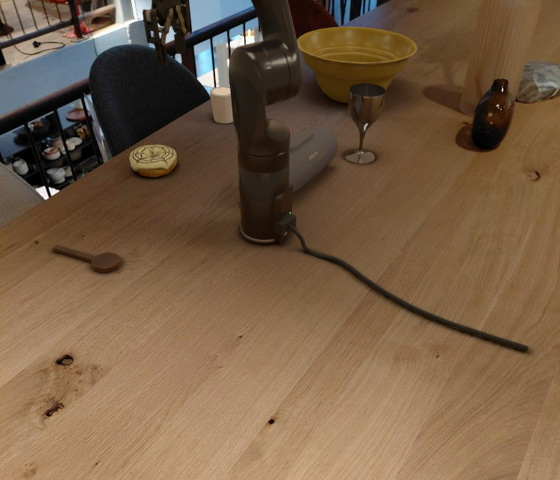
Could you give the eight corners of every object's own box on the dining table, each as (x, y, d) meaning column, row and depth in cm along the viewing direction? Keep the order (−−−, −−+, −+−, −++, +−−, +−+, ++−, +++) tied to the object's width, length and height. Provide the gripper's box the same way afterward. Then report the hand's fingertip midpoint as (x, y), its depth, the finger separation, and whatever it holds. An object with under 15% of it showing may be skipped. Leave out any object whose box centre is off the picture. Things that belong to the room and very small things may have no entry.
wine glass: (338, 160, 133) (344, 93, 122) (348, 146, 138) (355, 81, 127) (371, 166, 131) (380, 99, 120) (380, 152, 136) (389, 86, 125)
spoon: (126, 260, 104) (125, 256, 103) (110, 275, 101) (108, 271, 100) (63, 243, 108) (62, 238, 107) (46, 257, 105) (44, 252, 104)
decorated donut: (128, 179, 125) (125, 163, 123) (134, 157, 133) (131, 141, 130) (176, 178, 126) (173, 162, 123) (179, 156, 133) (177, 141, 131)
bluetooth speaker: (248, 153, 113) (249, 199, 120) (288, 165, 110) (287, 211, 117) (304, 114, 126) (302, 158, 134) (341, 124, 123) (338, 168, 130)
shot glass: (234, 125, 146) (232, 97, 141) (208, 122, 147) (206, 94, 142) (240, 114, 151) (239, 87, 146) (215, 112, 152) (213, 84, 147)
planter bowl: (333, 67, 177) (337, 18, 167) (428, 91, 164) (437, 39, 154) (272, 99, 159) (272, 45, 149) (373, 128, 146) (380, 72, 136)
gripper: (158, -25, 105) (169, 72, 117) (196, -40, 114) (203, 51, 126) (124, -29, 107) (138, 66, 119) (164, -43, 116) (174, 46, 128)
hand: (172, 58), depth 122 cm, fingers open, 7 cm apart
